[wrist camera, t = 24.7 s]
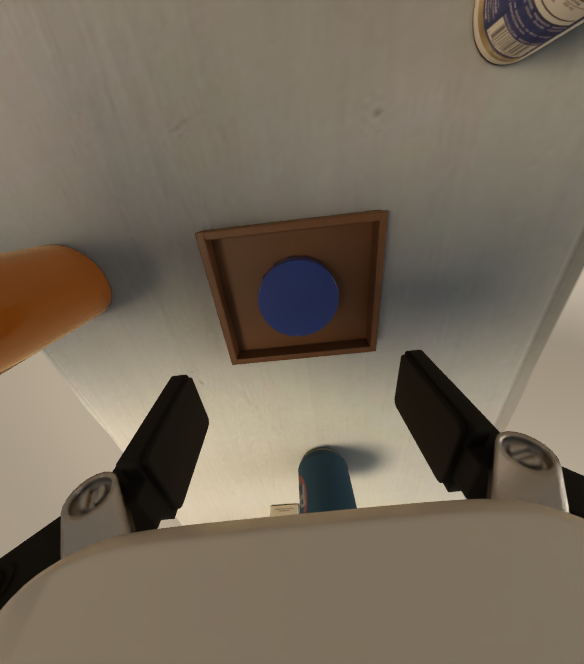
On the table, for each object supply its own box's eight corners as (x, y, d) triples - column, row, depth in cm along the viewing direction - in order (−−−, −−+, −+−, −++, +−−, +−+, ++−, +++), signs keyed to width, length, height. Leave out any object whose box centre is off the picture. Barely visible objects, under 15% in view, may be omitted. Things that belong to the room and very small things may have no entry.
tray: (235, 354, 25) (232, 365, 23) (202, 230, 19) (194, 233, 17) (370, 341, 24) (376, 351, 23) (379, 209, 18) (388, 210, 17)
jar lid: (345, 311, 22) (349, 319, 21) (280, 337, 23) (279, 347, 22) (319, 241, 19) (322, 244, 18) (245, 276, 20) (242, 282, 19)
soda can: (289, 454, 33) (290, 570, 23) (334, 439, 32) (357, 555, 21) (310, 478, 36) (319, 589, 26) (352, 465, 35) (379, 578, 24)
